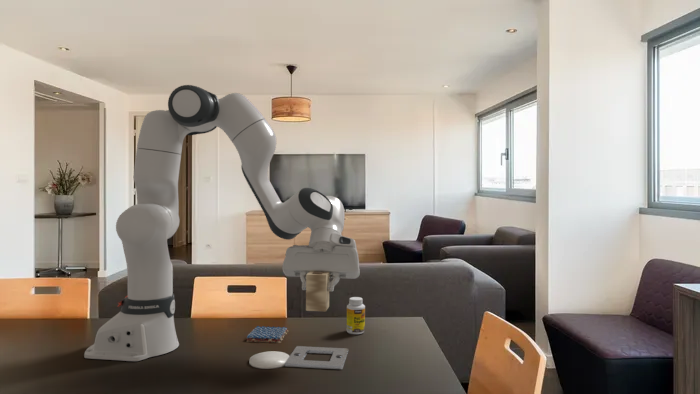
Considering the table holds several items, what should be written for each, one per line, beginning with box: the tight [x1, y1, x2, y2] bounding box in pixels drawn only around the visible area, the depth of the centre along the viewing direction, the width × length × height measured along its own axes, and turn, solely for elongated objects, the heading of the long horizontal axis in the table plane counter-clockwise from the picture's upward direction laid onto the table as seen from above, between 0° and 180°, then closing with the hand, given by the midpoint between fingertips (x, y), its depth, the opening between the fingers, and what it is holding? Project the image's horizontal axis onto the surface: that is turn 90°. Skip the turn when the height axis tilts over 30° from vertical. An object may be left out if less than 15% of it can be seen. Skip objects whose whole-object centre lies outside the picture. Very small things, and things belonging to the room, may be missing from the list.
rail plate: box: [284, 345, 349, 370], centre depth 112 cm, size 14×12×1 cm
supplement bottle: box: [346, 296, 366, 335], centre depth 133 cm, size 6×6×10 cm
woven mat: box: [246, 325, 290, 344], centre depth 129 cm, size 10×11×2 cm
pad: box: [248, 350, 290, 370], centre depth 110 cm, size 10×10×1 cm
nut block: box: [305, 271, 330, 313], centre depth 112 cm, size 5×5×9 cm
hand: (317, 289), depth 111 cm, fingers closed on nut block, 5 cm apart
